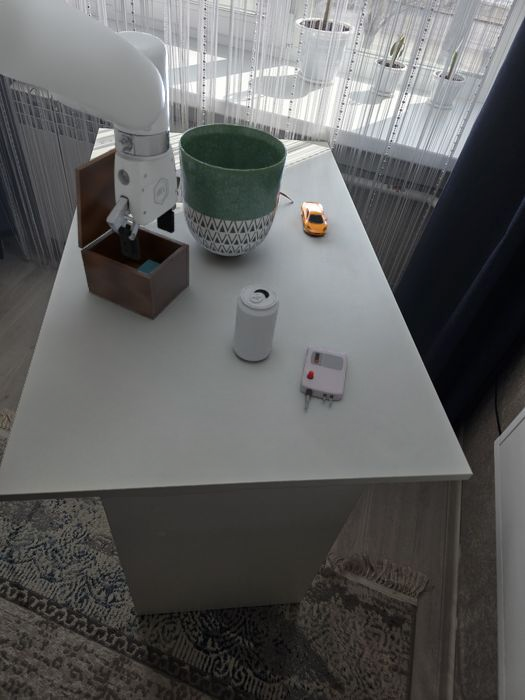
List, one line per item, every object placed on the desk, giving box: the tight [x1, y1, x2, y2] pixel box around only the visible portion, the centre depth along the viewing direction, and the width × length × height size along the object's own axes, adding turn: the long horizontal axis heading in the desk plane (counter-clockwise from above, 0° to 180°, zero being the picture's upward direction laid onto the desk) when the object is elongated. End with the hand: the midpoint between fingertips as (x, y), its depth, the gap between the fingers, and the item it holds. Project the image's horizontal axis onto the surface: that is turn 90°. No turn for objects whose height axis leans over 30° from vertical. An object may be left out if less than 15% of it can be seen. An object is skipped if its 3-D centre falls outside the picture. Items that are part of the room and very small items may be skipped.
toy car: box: [300, 201, 329, 237], centre depth 108 cm, size 6×12×3 cm, turn 2°
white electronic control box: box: [299, 344, 348, 410], centre depth 75 cm, size 7×16×3 cm, turn 168°
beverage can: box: [232, 283, 280, 362], centre depth 74 cm, size 6×6×12 cm
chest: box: [80, 220, 190, 321], centre depth 83 cm, size 14×12×9 cm
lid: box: [74, 147, 117, 250], centre depth 76 cm, size 15×12×1 cm
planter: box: [178, 123, 288, 257], centre depth 91 cm, size 20×20×21 cm
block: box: [136, 260, 160, 275], centre depth 84 cm, size 5×5×5 cm
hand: (149, 242), depth 78 cm, fingers open, 9 cm apart
